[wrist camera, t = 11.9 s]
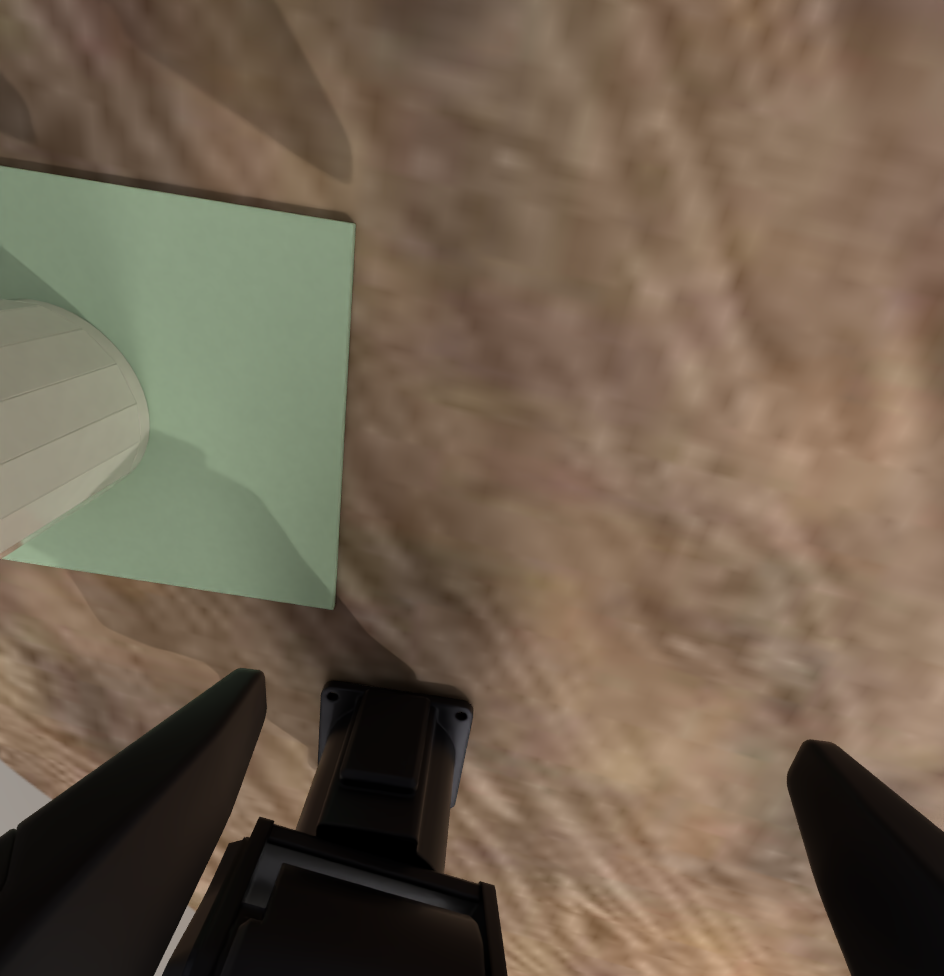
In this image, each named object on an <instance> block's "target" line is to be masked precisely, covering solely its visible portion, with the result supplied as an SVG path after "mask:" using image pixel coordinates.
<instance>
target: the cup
mask: <svg viewBox="0 0 944 976" xmlns="http://www.w3.org/2000/svg"><path fill="white" fill-rule="evenodd" d="M149 432H150V418H149V411H148V405H147V401H146V398H145V395H144V391H143V389H142V387H141V384H140V382H139V380H138V378H137V376H136V374H135V372H134V371H133V369H132V367H131V366H130V364H129V363H128V361H127V360H126V359H125V357H124V356H123V354H122V353H121V352H120V351H119V350H118V349H117V347H116V346H115V345H114V344H113V343H112V342H111V341H110V340H109V339H108V338H107V337H106V336H105V335H104V334H103V333H102V332H100V331H99V330H98V329H96V328H95V327H94V326H93V325H91V324H90V323H89V322H87V321H85V320H84V319H82V318H81V317H79V316H77V315H76V314H74V313H71V312H69V311H67V310H65V309H63V308H61V307H58V306H55V305H52V304H50V303H46V302H42V301H37V300H32V299H21V298H18V299H0V560H1V559H2V558H4V557H5V556H7V555H8V554H10V553H11V552H13V551H15V550H16V549H18V548H19V547H21V546H22V545H24V544H26V543H27V542H29V541H30V540H32V539H33V538H35V537H37V536H38V535H40V534H41V533H43V532H44V531H46V530H47V529H49V528H51V527H52V526H54V525H55V524H57V523H58V522H60V521H62V520H63V519H65V518H66V517H68V516H69V515H71V514H73V513H74V512H76V511H77V510H79V509H80V508H82V507H84V506H85V505H87V504H88V503H90V502H91V501H93V500H94V499H96V498H98V497H99V496H101V495H102V494H104V493H105V492H107V491H108V490H109V489H111V488H112V487H113V486H114V485H115V484H117V483H118V482H120V481H121V480H123V479H124V478H126V477H127V476H128V475H129V474H130V473H131V472H132V471H133V470H134V469H135V468H136V467H137V465H138V464H139V463H140V461H141V459H142V457H143V455H144V453H145V451H146V447H147V444H148V440H149Z"/></svg>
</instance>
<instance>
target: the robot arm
mask: <svg viewBox="0 0 944 976" xmlns="http://www.w3.org/2000/svg"><path fill="white" fill-rule="evenodd" d="M331 692H334V693H336V694H333V693H331ZM266 709H267V704H266V687H265V676H264V673H263V672H262V671H260V670H253V669H245V668H239V669H237V670H235V671H233V672H232V673H230V674H229V675H227V676H226V677H225V678H223V679H222V680H220V681H219V682H218V683H216V684H215V685H213V686H212V687H211V688H209V689H208V690H206V691H205V692H204V693H202V694H201V695H199V696H198V697H196V698H195V699H194V700H192V701H191V702H189V703H188V704H187V705H185V706H184V707H182V708H181V709H180V710H178V711H177V712H175V713H174V714H173V715H171V716H170V717H168V718H167V719H166V720H164V721H163V722H161V723H160V724H159V725H157V726H156V727H154V728H153V729H152V730H150V731H149V732H147V733H146V734H144V735H143V736H142V737H140V738H139V739H137V740H136V741H135V742H133V743H132V744H130V745H129V746H128V747H126V748H125V749H123V750H122V751H121V752H119V753H118V754H116V755H115V756H114V757H112V758H111V759H109V760H108V761H107V762H105V763H104V764H102V765H101V766H100V767H98V768H97V769H95V770H94V771H92V772H91V773H90V774H88V775H87V776H85V777H84V778H83V779H81V780H80V781H78V782H77V783H76V784H74V785H73V786H71V787H70V788H69V789H67V790H66V791H64V792H63V793H62V794H60V795H59V796H57V797H56V798H55V799H53V800H52V801H50V802H49V803H48V804H46V805H45V806H43V807H42V808H40V809H39V810H38V811H36V812H35V813H34V814H32V815H31V816H29V817H28V818H26V819H25V820H24V821H22V822H21V823H20V824H19V825H18V827H17V830H16V829H11V830H9V831H8V832H6V833H5V834H4V835H2V836H1V837H0V976H154V974H155V972H156V970H157V968H158V966H159V963H160V961H161V959H162V957H163V955H164V953H165V951H166V949H167V947H168V945H169V943H170V941H171V938H172V936H173V934H174V932H175V930H176V928H177V926H178V924H179V922H180V920H181V917H182V915H183V913H184V911H185V909H186V907H187V905H188V903H189V901H190V899H191V897H192V895H193V893H194V890H195V888H196V886H197V884H198V882H199V880H200V878H201V876H202V874H203V872H204V870H205V868H206V865H207V863H208V861H209V859H210V857H211V855H212V853H213V851H214V849H215V847H216V845H217V842H218V840H219V838H220V836H221V834H222V832H223V830H224V828H225V825H226V823H227V821H228V819H229V816H230V814H231V812H232V809H233V806H234V804H235V801H236V798H237V796H238V793H239V790H240V787H241V785H242V782H243V779H244V776H245V773H246V771H247V768H248V765H249V762H250V759H251V757H252V754H253V751H254V748H255V746H256V743H257V740H258V737H259V734H260V732H261V729H262V726H263V723H264V720H265V716H266ZM458 712H464V713H458ZM472 719H473V707H472V705H471V704H470V703H469V702H467V701H464V700H457V699H451V698H444V697H438V696H431V695H425V694H418V693H412V692H405V691H399V690H392V689H386V688H379V687H372V686H366V685H359V684H353V683H346V682H340V681H330V682H327V683H326V684H325V685H324V688H323V690H322V693H321V705H320V727H319V749H318V768H317V770H316V773H315V776H314V779H313V782H312V785H311V787H310V790H309V793H308V796H307V799H306V802H305V804H304V807H303V810H302V813H301V816H300V819H299V821H298V824H297V827H296V830H293V829H289V828H286V827H283V826H279V825H276V824H274V821H273V820H270V819H266V818H263V817H259V819H258V821H257V823H256V825H255V828H254V830H253V832H252V834H251V836H250V838H249V837H246V838H245V837H244V838H243V840H240V841H236V842H233V843H229V844H228V847H227V849H226V851H225V853H224V855H223V858H222V860H221V862H220V864H219V866H218V869H217V871H216V873H215V875H214V877H213V879H212V882H211V884H210V886H209V888H208V890H207V892H206V894H205V896H204V898H203V900H202V902H201V904H200V905H199V907H198V909H197V911H196V913H195V914H194V916H193V918H192V920H191V922H190V923H189V925H188V927H187V929H186V931H185V932H184V934H183V936H182V938H181V940H180V942H179V943H178V945H177V947H176V949H175V950H174V952H173V954H172V956H171V958H170V960H169V961H168V963H167V966H166V968H165V970H164V972H163V974H162V976H507V969H506V962H505V954H504V947H503V940H502V933H501V926H500V919H499V912H498V905H497V898H496V890H495V886H494V885H491V884H488V883H484V882H481V881H480V882H479V883H478V884H477V883H474V882H470V881H467V880H464V879H460V878H457V877H453V876H450V875H447V874H444V868H445V857H446V847H447V836H448V826H449V815H450V808H452V807H454V805H455V802H456V798H457V793H458V788H459V783H460V778H461V773H462V768H463V763H464V758H465V753H466V748H467V743H468V738H469V734H470V729H471V724H472ZM787 787H788V791H789V795H790V798H791V802H792V805H793V808H794V812H795V815H796V819H797V822H798V825H799V829H800V832H801V836H802V839H803V842H804V846H805V849H806V853H807V856H808V859H809V863H810V866H811V870H812V873H813V876H814V879H815V882H816V885H817V888H818V891H819V894H820V896H821V899H822V902H823V905H824V907H825V910H826V912H827V915H828V917H829V920H830V922H831V925H832V928H833V930H834V933H835V935H836V938H837V940H838V943H839V945H840V948H841V950H842V953H843V956H844V958H845V961H846V963H847V966H848V968H849V971H850V973H851V976H944V832H943V831H942V830H941V829H939V828H938V827H937V826H936V825H934V824H933V823H932V822H931V821H929V820H928V819H927V818H926V817H925V816H923V815H922V814H921V813H920V812H918V811H917V810H916V809H915V808H913V807H912V806H911V805H910V804H909V803H907V802H906V801H905V800H904V799H902V798H901V797H900V796H899V795H897V794H896V793H895V792H894V791H893V790H891V789H890V788H889V787H888V786H886V785H885V784H884V783H883V782H881V781H880V780H879V779H878V778H877V777H875V776H874V775H873V774H872V773H870V772H869V771H868V770H867V769H865V768H864V767H863V766H862V765H861V764H859V763H858V762H857V761H856V760H854V759H853V758H852V757H851V756H849V755H848V754H847V753H846V752H845V751H843V750H842V749H841V748H840V747H838V746H837V745H836V744H834V743H831V742H826V741H819V740H806V741H805V742H803V743H802V745H801V747H800V749H799V751H798V753H797V755H796V757H795V759H794V761H793V763H792V765H791V767H790V769H789V771H788V774H787Z"/></svg>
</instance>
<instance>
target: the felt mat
mask: <svg viewBox="0 0 944 976" xmlns="http://www.w3.org/2000/svg"><path fill="white" fill-rule="evenodd" d="M355 229H356V224H355V223H350V222H343V221H337V220H331V219H325V218H319V217H313V216H307V215H301V214H294V213H288V212H282V211H276V210H270V209H264V208H258V207H252V206H245V205H239V204H233V203H227V202H221V201H215V200H209V199H203V198H196V197H190V196H184V195H178V194H172V193H166V192H160V191H154V190H147V189H141V188H135V187H129V186H123V185H117V184H111V183H105V182H98V181H92V180H86V179H80V178H74V177H68V176H62V175H56V174H49V173H43V172H37V171H31V170H25V169H19V168H13V167H7V166H0V299H18V298H21V299H32V300H37V301H42V302H46V303H50V304H52V305H55V306H58V307H61V308H63V309H65V310H67V311H69V312H71V313H74V314H76V315H77V316H79V317H81V318H82V319H84V320H85V321H87V322H89V323H90V324H91V325H93V326H94V327H95V328H96V329H98V330H99V331H100V332H102V333H103V334H104V335H105V336H106V337H107V338H108V339H109V340H110V341H111V342H112V343H113V344H114V345H115V346H116V347H117V349H118V350H119V351H120V352H121V353H122V354H123V356H124V357H125V359H126V360H127V361H128V363H129V364H130V366H131V367H132V369H133V371H134V372H135V374H136V376H137V378H138V380H139V382H140V384H141V387H142V389H143V391H144V395H145V398H146V401H147V405H148V411H149V418H150V432H149V440H148V444H147V447H146V451H145V453H144V455H143V457H142V459H141V461H140V463H139V464H138V465H137V467H136V468H135V469H134V470H133V471H132V472H131V473H130V474H129V475H128V476H127V477H126V478H124V479H123V480H121V481H120V482H118V483H117V484H115V485H114V486H113V487H112V488H111V489H109V490H108V491H107V492H105V493H104V494H102V495H101V496H99V497H98V498H96V499H94V500H93V501H91V502H90V503H88V504H87V505H85V506H84V507H82V508H80V509H79V510H77V511H76V512H74V513H73V514H71V515H69V516H68V517H66V518H65V519H63V520H62V521H60V522H58V523H57V524H55V525H54V526H52V527H51V528H49V529H47V530H46V531H44V532H43V533H41V534H40V535H38V536H37V537H35V538H33V539H32V540H30V541H29V542H27V543H26V544H24V545H22V546H21V547H19V548H18V549H16V550H15V551H13V552H11V553H10V554H8V555H7V556H5V557H4V558H2V559H6V560H13V561H19V562H26V563H32V564H38V565H45V566H51V567H58V568H64V569H71V570H77V571H84V572H90V573H97V574H103V575H110V576H116V577H122V578H129V579H135V580H142V581H148V582H155V583H161V584H168V585H174V586H181V587H187V588H194V589H200V590H206V591H213V592H219V593H226V594H232V595H239V596H245V597H252V598H258V599H265V600H271V601H278V602H284V603H290V604H297V605H303V606H310V607H316V608H323V609H329V610H333V609H334V607H335V596H336V578H337V560H338V541H339V523H340V504H341V486H342V468H343V449H344V431H345V413H346V394H347V376H348V357H349V339H350V321H351V302H352V284H353V266H354V247H355Z"/></svg>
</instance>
